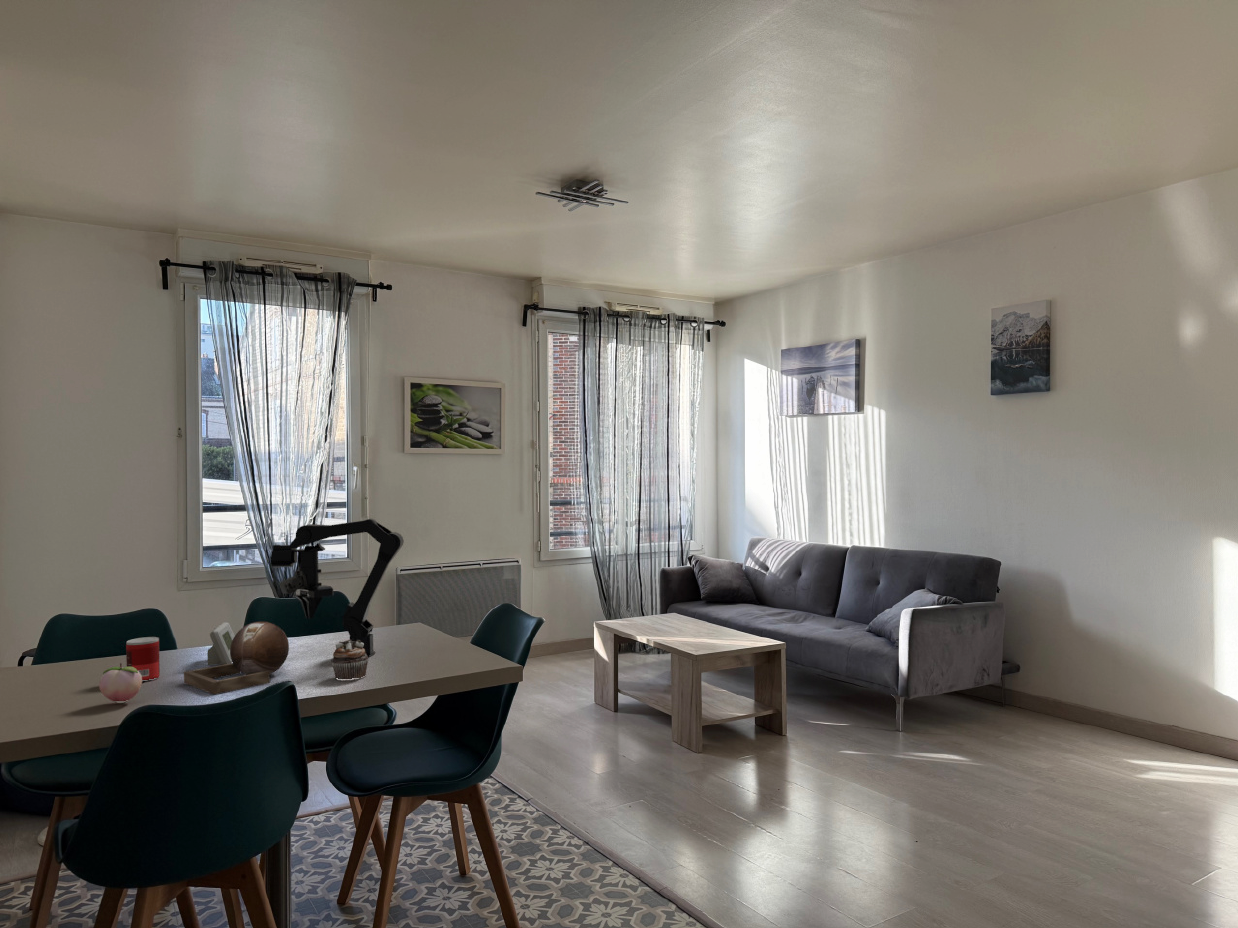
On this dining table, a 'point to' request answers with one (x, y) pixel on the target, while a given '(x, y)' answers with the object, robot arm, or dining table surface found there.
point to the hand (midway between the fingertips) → (309, 618)
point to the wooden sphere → (259, 648)
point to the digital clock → (220, 645)
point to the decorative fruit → (120, 683)
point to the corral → (207, 683)
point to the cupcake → (350, 660)
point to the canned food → (144, 656)
